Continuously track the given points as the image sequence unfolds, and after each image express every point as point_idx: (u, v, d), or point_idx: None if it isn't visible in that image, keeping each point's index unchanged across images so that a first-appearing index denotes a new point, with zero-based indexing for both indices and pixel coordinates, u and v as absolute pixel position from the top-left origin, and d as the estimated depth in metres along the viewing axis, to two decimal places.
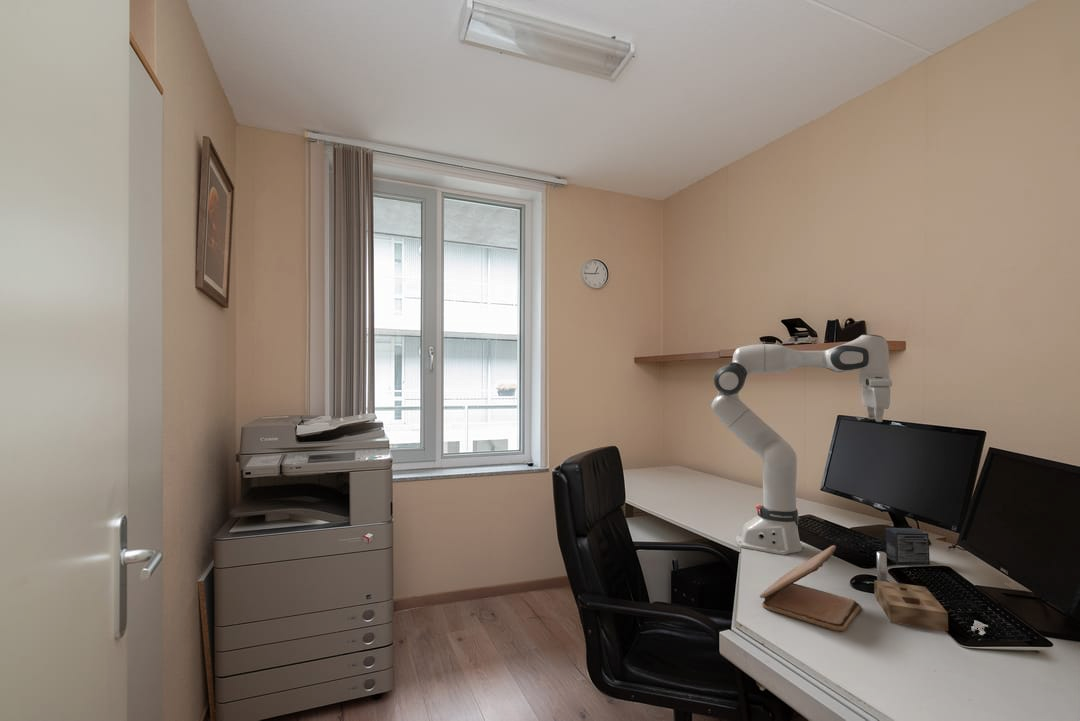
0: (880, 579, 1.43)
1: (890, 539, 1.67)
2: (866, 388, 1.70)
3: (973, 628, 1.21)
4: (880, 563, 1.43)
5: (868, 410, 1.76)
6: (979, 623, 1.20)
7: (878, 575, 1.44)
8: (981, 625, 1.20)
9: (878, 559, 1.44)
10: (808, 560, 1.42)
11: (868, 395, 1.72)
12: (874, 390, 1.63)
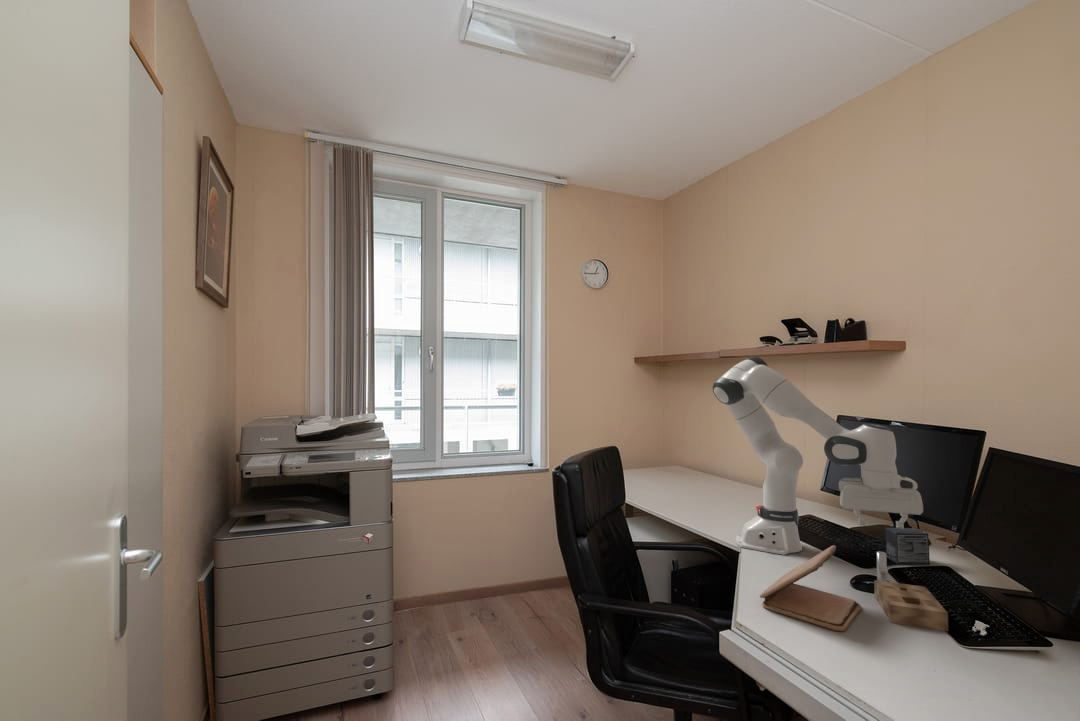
0: (880, 579, 1.43)
1: (890, 539, 1.67)
2: (888, 490, 1.42)
3: (974, 628, 1.21)
4: (880, 563, 1.43)
5: (858, 514, 1.46)
6: (980, 623, 1.20)
7: (878, 575, 1.44)
8: (982, 625, 1.20)
9: (878, 559, 1.44)
10: (808, 560, 1.42)
11: (876, 497, 1.44)
12: (919, 494, 1.39)
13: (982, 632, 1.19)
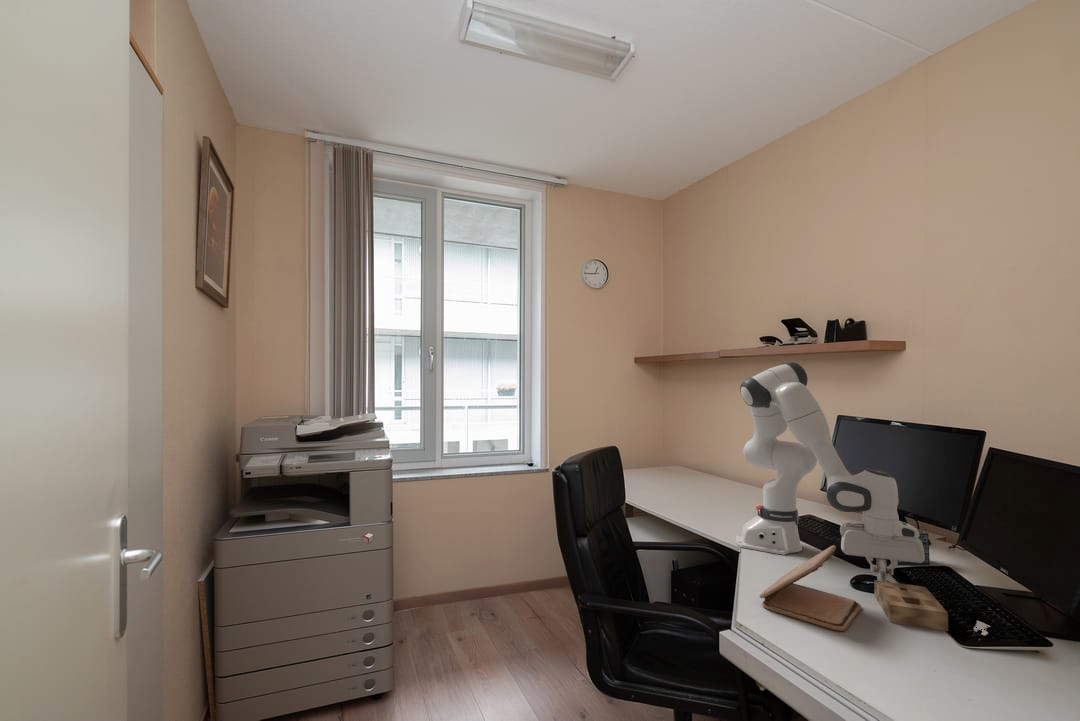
0: (880, 579, 1.43)
1: None
2: (889, 538, 1.41)
3: (975, 628, 1.21)
4: (880, 563, 1.43)
5: (871, 562, 1.45)
6: (981, 623, 1.20)
7: (878, 575, 1.44)
8: (983, 625, 1.20)
9: (878, 559, 1.44)
10: (808, 560, 1.42)
11: (877, 544, 1.43)
12: (921, 542, 1.39)
13: (983, 632, 1.19)
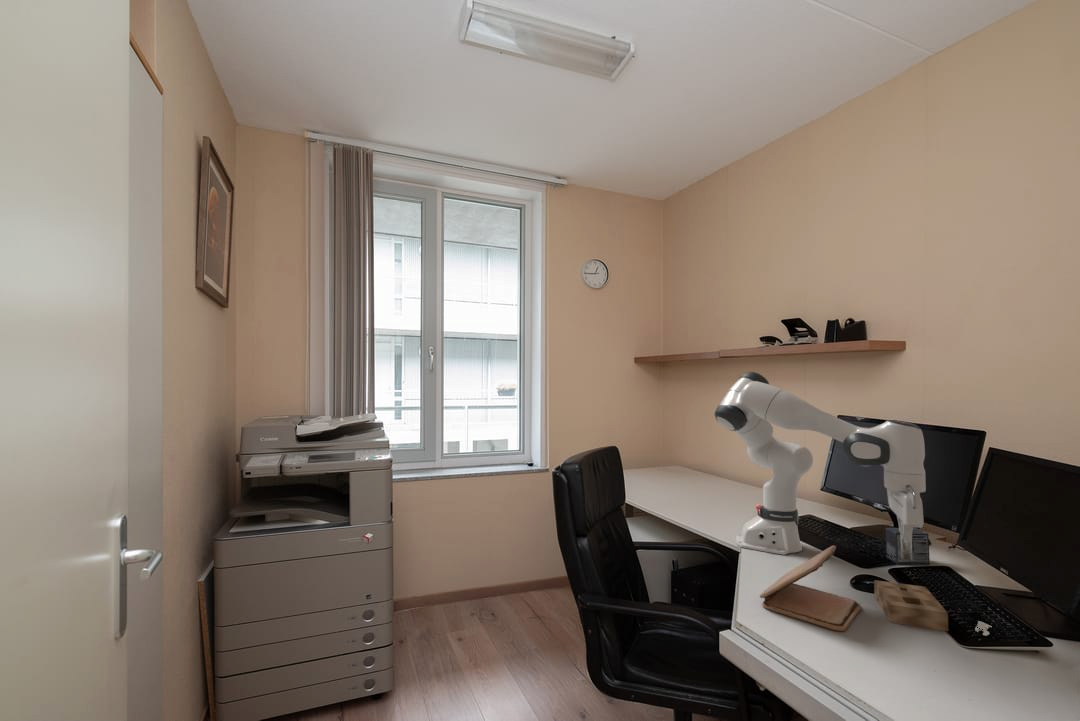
0: (911, 546, 1.28)
1: (890, 539, 1.67)
2: None
3: (977, 629, 1.21)
4: None
5: None
6: (983, 624, 1.20)
7: (909, 542, 1.27)
8: (985, 626, 1.19)
9: None
10: (808, 560, 1.42)
11: None
12: None
13: (985, 632, 1.19)
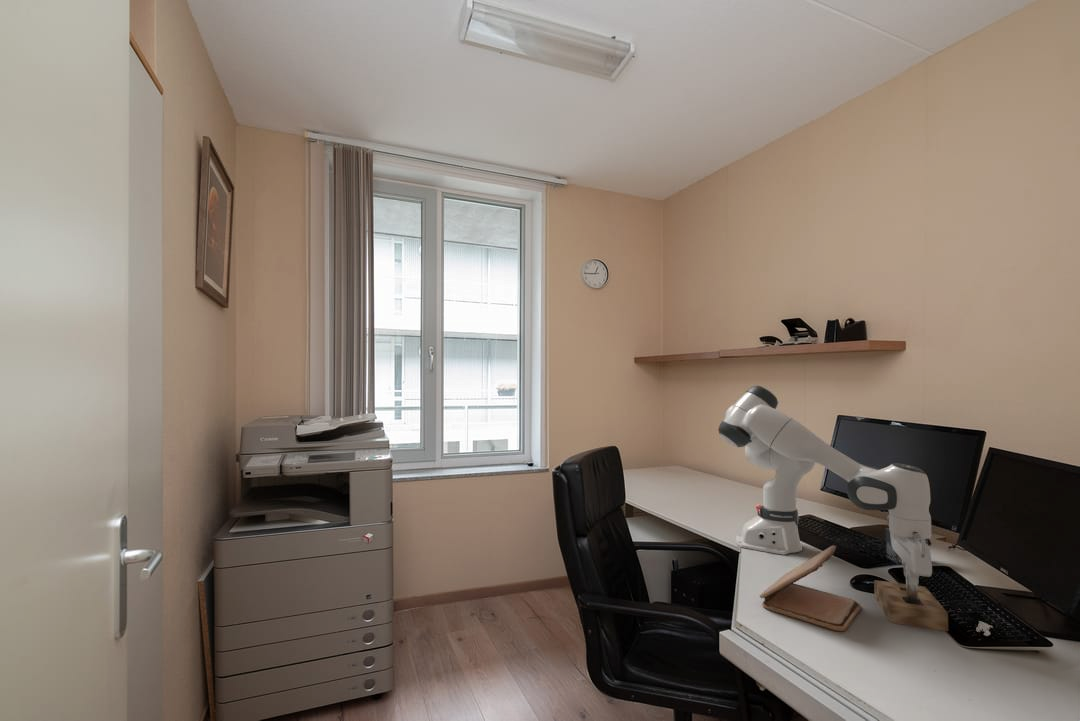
0: (917, 593, 1.27)
1: (890, 539, 1.67)
2: None
3: (978, 629, 1.21)
4: None
5: None
6: (984, 624, 1.20)
7: (915, 590, 1.26)
8: (986, 626, 1.19)
9: None
10: (808, 560, 1.42)
11: None
12: None
13: (986, 633, 1.19)
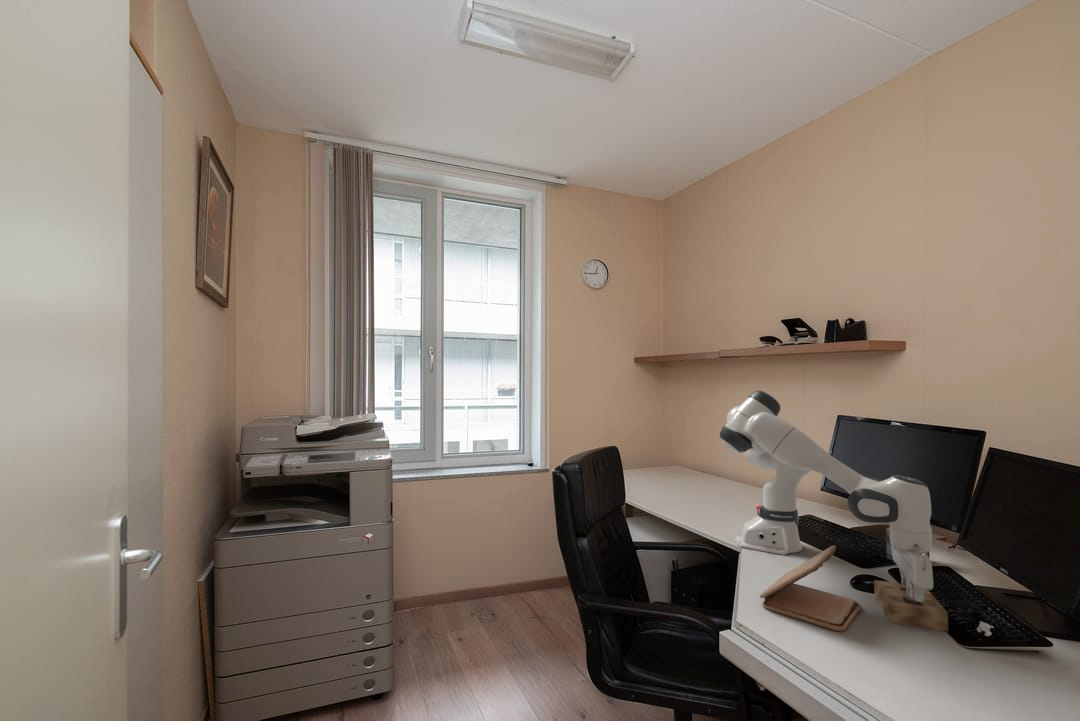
0: None
1: None
2: None
3: (979, 629, 1.21)
4: None
5: None
6: (985, 624, 1.20)
7: (916, 603, 1.26)
8: (987, 626, 1.19)
9: None
10: (808, 560, 1.42)
11: None
12: None
13: (987, 633, 1.19)
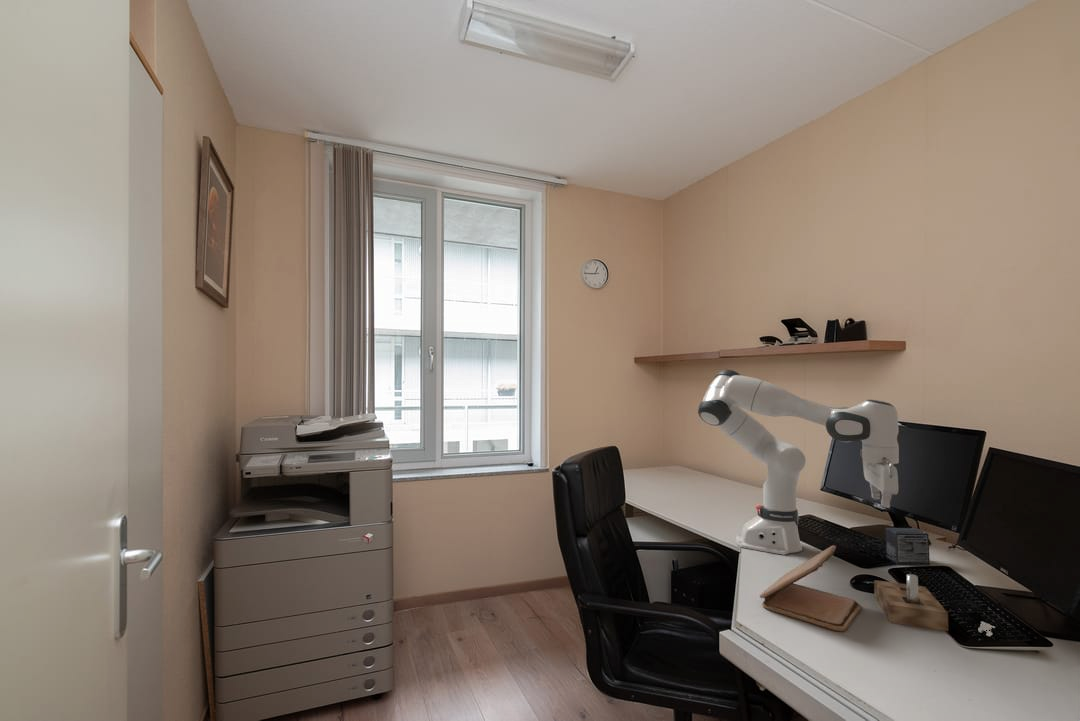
0: None
1: (890, 539, 1.67)
2: None
3: (980, 629, 1.21)
4: (917, 588, 1.27)
5: None
6: (986, 624, 1.19)
7: (916, 603, 1.26)
8: (988, 626, 1.19)
9: (916, 584, 1.27)
10: (808, 560, 1.42)
11: None
12: None
13: (988, 633, 1.19)
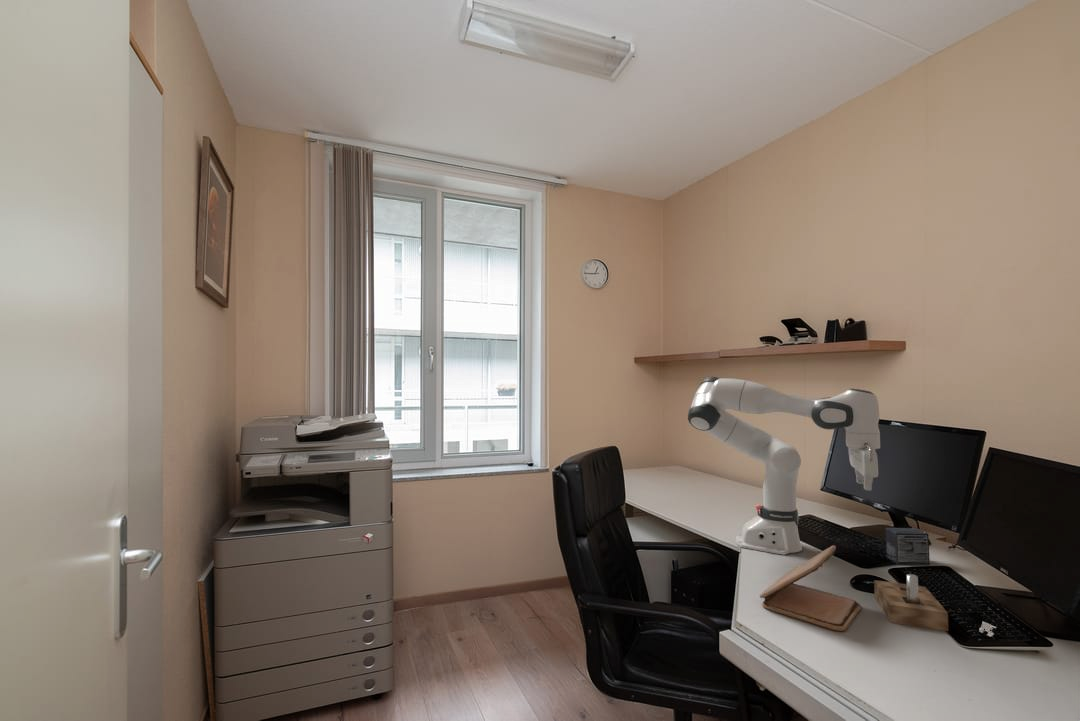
0: None
1: (890, 539, 1.67)
2: None
3: (981, 629, 1.20)
4: (917, 588, 1.27)
5: None
6: (987, 624, 1.19)
7: (916, 603, 1.26)
8: (989, 626, 1.19)
9: (916, 584, 1.27)
10: (808, 560, 1.42)
11: None
12: None
13: (989, 633, 1.19)
